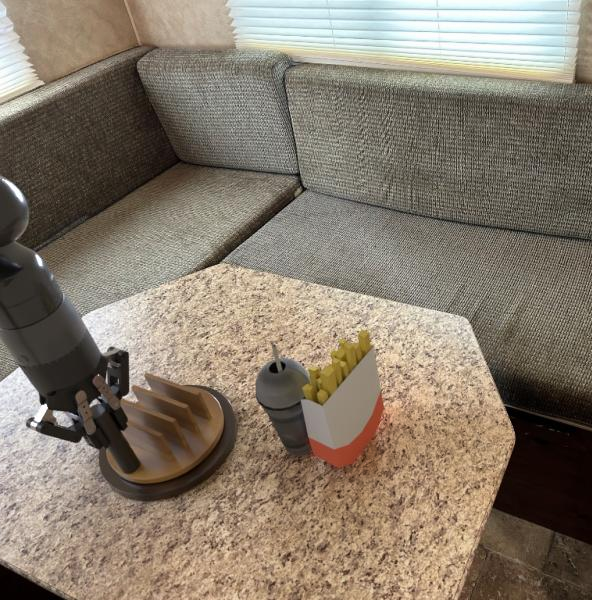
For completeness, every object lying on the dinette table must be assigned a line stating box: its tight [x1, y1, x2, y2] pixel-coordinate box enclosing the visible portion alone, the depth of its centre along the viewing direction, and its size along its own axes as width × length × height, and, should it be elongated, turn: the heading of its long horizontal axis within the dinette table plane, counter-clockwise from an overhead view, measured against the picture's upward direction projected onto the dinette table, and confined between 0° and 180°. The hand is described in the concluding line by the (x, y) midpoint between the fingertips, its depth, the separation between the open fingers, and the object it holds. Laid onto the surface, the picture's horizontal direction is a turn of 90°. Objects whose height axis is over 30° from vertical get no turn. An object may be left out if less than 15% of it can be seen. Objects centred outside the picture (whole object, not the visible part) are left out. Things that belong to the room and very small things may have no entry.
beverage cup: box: [254, 344, 313, 457], centre depth 78 cm, size 7×7×20 cm
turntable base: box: [98, 384, 239, 502], centre depth 86 cm, size 19×19×2 cm
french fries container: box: [301, 329, 385, 468], centre depth 78 cm, size 5×11×18 cm, turn 148°
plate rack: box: [90, 372, 224, 484], centre depth 82 cm, size 16×16×12 cm
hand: (111, 436), depth 76 cm, fingers closed on plate rack, 2 cm apart
